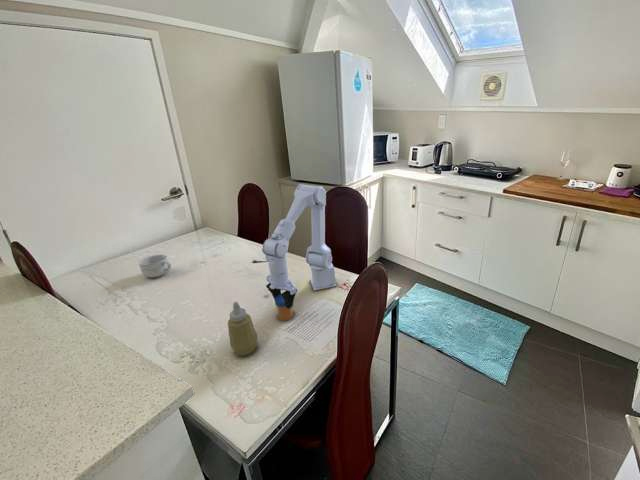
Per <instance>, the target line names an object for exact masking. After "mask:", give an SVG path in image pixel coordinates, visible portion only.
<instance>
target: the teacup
mask: <svg viewBox="0 0 640 480" xmlns="http://www.w3.org/2000/svg"><path fill="white" fill-rule="evenodd" d="M137 263H138V265H139V268H140V272H141V273H142V275H143V276H144V277H147V278H151V279H153V278H154V279H155V278H159V277H160V276H164V275H165V274H166V273H167V272H168V271H169V270H170V269H171V268H172V262H171V261H170V260H169V259H168V256H167V255H166V254H153V255H150V256H146V257H143V258H141V259H140V260H138V262H137Z"/></svg>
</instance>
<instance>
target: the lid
mask: <svg viewBox="0 0 640 480" xmlns="http://www.w3.org/2000/svg"><path fill="white" fill-rule="evenodd" d="M274 304H275V306H276V307H277V306H278V307H286V304H285V301H284V299H283V297H282V296H281V294H279V295H277V296H276V297H275V300H274Z"/></svg>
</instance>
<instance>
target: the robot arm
mask: <svg viewBox="0 0 640 480" xmlns="http://www.w3.org/2000/svg"><path fill="white" fill-rule="evenodd" d="M293 195H294V196H293V197H294V200H293V202H292V204H291V206H290V208H289V210H288V212H287V215H286V217H285V218H284V219H280V221H279V222H278V224H277V225H276V228H275V229H274V231H273V233H272V234H271V236H270V237H269V238H266V239H265V240H264V242H263V244H262V248H261V251H262V253H263V254H264V255H265V258H266V259H267V262H268V268H269V275H267V276H265V279H266V282H267V284H266V285H265V287H266V289H267V290H268V291H269V292H270V294H271V295H272V298H273V299H274V301H275V297H276V296H277V295H279V294H281V296H282V297H283V299H284V301H285V304H286V307H287V308H288V309H289V308H291V307H292V308H293V306H294V300H295V297H296V295H297V293H298V289H297V287H296V286H294V284H293V283H292V281H291V280H290V279H289V272H288V266H287V265H288V264H287V258H286V255H287V254H288V252H289V251H288V250H289V245H290V240H291V238H292V236H293V234H294V232H295V230H296V221H297V220H298V219H299V218H300V216H301V215H302V213H303V211H304V210H305V209H306V208H307V207H309V208H310V214H311V217H310V218H311V222H310V223H311V225H310V226H311V245H309V246H308V247H307V248H306V255H305V261H306V264H308V265H309V267H310V270H311V271H310V272H311V280H310V284H311V286H312V289H313V291H319V290H324V289H328V288H334V287H336V286H337V284H336V271H335V266H334V265H333V263H332V262H333V256H332V249H331V248H330V247H329V246H327V244H326V213H325V212H326V206H327V190H326V189H325V188H324V187H323V186H321V185H319V186H318V185H309V184H304V183H299V184H298V185H297V186H296V188H295V191H293ZM282 291H283V292H282Z"/></svg>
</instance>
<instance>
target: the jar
mask: <svg viewBox="0 0 640 480" xmlns="http://www.w3.org/2000/svg"><path fill="white" fill-rule="evenodd" d="M276 309H277V314H278V319H279V320H280V321H289V320H290V319H292V318H293V316H294V313H293V306H292V307H291V308H289V309H288V308H287V307H278V306H276Z"/></svg>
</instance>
